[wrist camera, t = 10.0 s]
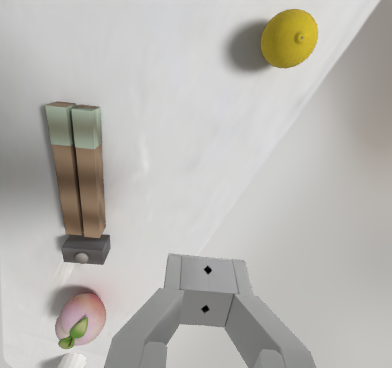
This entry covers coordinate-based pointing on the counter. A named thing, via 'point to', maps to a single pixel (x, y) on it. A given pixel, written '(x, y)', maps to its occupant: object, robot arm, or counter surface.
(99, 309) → the decorative fruit
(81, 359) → the shot glass
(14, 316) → the counter surface
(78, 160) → the tongs arm
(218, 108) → the counter surface
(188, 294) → the robot arm
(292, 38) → the lemon
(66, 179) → the tongs base
